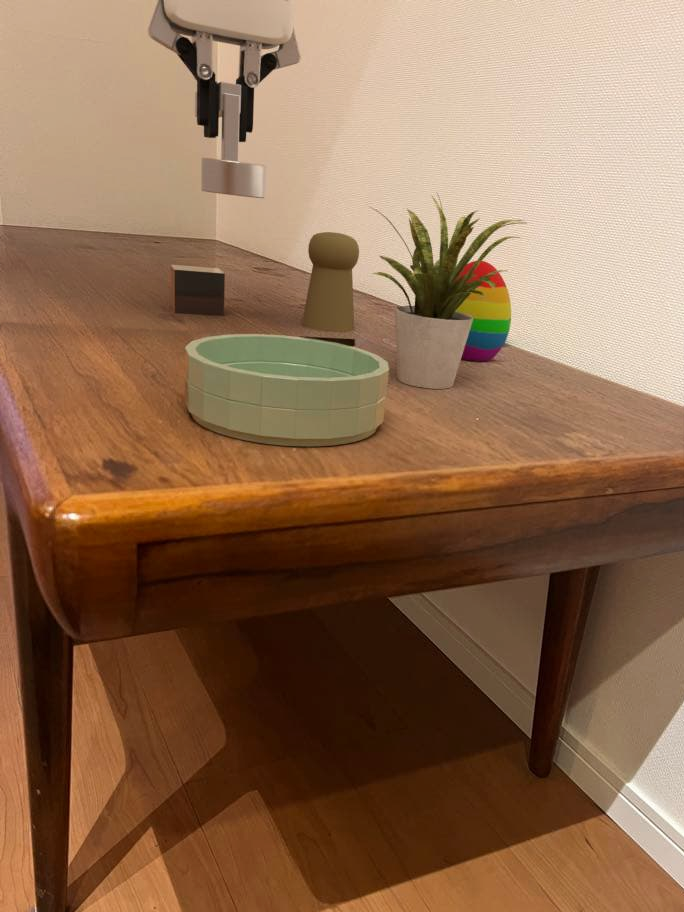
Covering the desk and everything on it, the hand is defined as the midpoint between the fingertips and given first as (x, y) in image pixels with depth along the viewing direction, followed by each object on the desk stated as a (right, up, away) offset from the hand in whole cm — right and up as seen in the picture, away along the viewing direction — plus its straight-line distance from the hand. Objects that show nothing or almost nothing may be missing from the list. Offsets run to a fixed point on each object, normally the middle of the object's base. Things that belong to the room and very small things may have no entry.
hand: (224, 137), depth 65 cm
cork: (+7, -13, +19) cm, 24 cm away
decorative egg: (+22, -13, +21) cm, 33 cm away
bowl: (+6, -25, -9) cm, 27 cm away
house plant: (+18, -19, +7) cm, 27 cm away
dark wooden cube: (-7, -11, +18) cm, 22 cm away
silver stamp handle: (-1, -3, +4) cm, 5 cm away
